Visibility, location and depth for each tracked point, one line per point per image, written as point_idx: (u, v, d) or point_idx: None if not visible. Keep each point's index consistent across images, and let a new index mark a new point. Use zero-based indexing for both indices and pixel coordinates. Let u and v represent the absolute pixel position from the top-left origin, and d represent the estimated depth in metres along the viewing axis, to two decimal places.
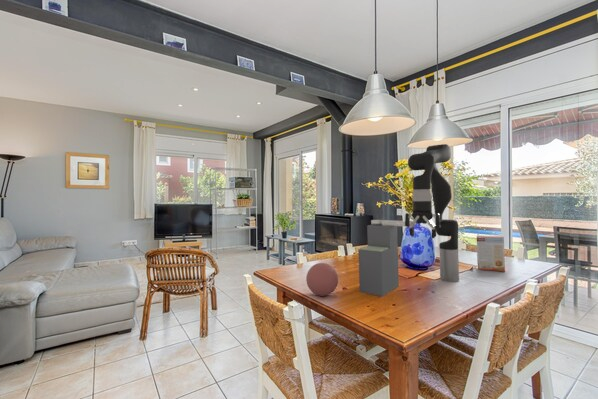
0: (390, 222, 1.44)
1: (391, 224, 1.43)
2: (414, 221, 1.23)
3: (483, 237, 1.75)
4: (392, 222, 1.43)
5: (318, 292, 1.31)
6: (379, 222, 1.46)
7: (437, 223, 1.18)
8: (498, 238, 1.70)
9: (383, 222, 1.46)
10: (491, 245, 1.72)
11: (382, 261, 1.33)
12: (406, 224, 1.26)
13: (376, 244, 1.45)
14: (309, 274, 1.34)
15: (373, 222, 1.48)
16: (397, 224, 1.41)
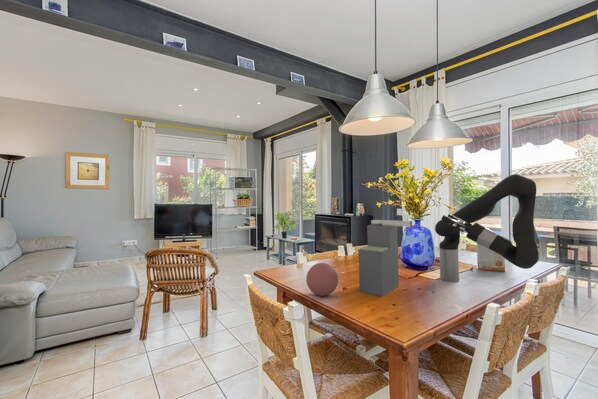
0: (390, 222, 1.44)
1: (391, 224, 1.43)
2: None
3: None
4: (392, 222, 1.43)
5: (318, 292, 1.31)
6: (379, 222, 1.46)
7: None
8: None
9: (383, 222, 1.46)
10: None
11: (382, 261, 1.33)
12: (451, 225, 1.22)
13: (376, 244, 1.45)
14: (309, 274, 1.34)
15: (373, 222, 1.48)
16: (397, 224, 1.41)
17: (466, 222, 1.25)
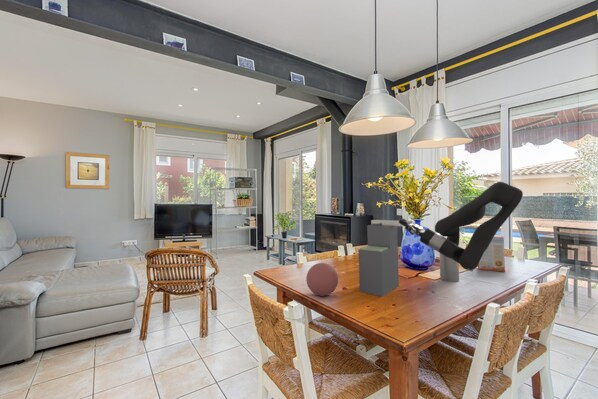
0: (390, 222, 1.44)
1: (391, 224, 1.43)
2: None
3: None
4: (392, 222, 1.43)
5: (318, 292, 1.31)
6: (379, 222, 1.46)
7: None
8: (498, 238, 1.70)
9: (383, 222, 1.46)
10: (491, 245, 1.72)
11: (382, 261, 1.33)
12: None
13: (376, 244, 1.45)
14: (309, 274, 1.34)
15: (373, 222, 1.48)
16: (397, 224, 1.41)
17: (421, 227, 1.36)
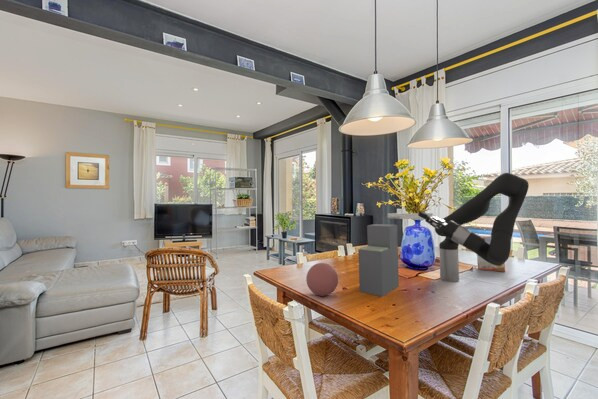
0: (408, 215, 1.35)
1: (409, 217, 1.35)
2: None
3: (483, 237, 1.75)
4: (411, 215, 1.34)
5: (318, 292, 1.31)
6: (396, 215, 1.38)
7: None
8: None
9: (401, 215, 1.37)
10: None
11: (382, 261, 1.33)
12: None
13: (376, 244, 1.45)
14: (309, 274, 1.34)
15: (390, 215, 1.39)
16: (416, 217, 1.33)
17: (443, 220, 1.27)
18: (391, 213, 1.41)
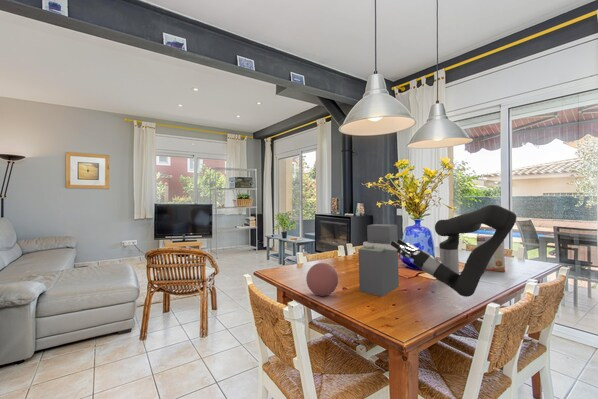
0: (383, 245, 1.36)
1: (383, 247, 1.36)
2: None
3: (483, 237, 1.75)
4: (385, 245, 1.35)
5: (318, 292, 1.31)
6: (371, 245, 1.39)
7: None
8: None
9: (375, 245, 1.38)
10: None
11: (382, 261, 1.33)
12: None
13: None
14: (309, 274, 1.34)
15: (365, 245, 1.40)
16: (390, 248, 1.34)
17: (414, 249, 1.28)
18: (367, 242, 1.42)
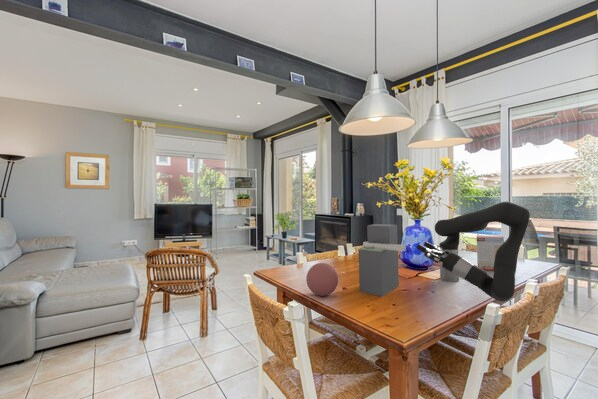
0: (383, 245, 1.36)
1: (383, 247, 1.36)
2: None
3: (483, 237, 1.75)
4: (385, 245, 1.35)
5: (318, 292, 1.31)
6: (371, 245, 1.39)
7: None
8: (498, 238, 1.70)
9: (375, 245, 1.38)
10: (491, 245, 1.72)
11: (382, 261, 1.33)
12: None
13: None
14: (309, 274, 1.34)
15: (365, 245, 1.40)
16: (390, 248, 1.34)
17: (442, 251, 1.21)
18: (367, 242, 1.42)
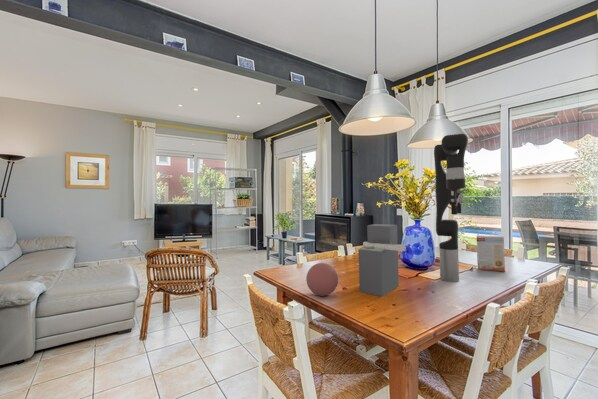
0: (383, 245, 1.36)
1: (383, 247, 1.36)
2: (458, 198, 1.26)
3: (483, 237, 1.75)
4: (385, 245, 1.35)
5: (318, 292, 1.31)
6: (371, 245, 1.39)
7: None
8: (498, 238, 1.70)
9: (375, 245, 1.38)
10: (491, 245, 1.72)
11: (382, 261, 1.33)
12: (455, 202, 1.23)
13: None
14: (309, 274, 1.34)
15: (365, 245, 1.40)
16: (390, 248, 1.34)
17: None
18: (367, 242, 1.42)
